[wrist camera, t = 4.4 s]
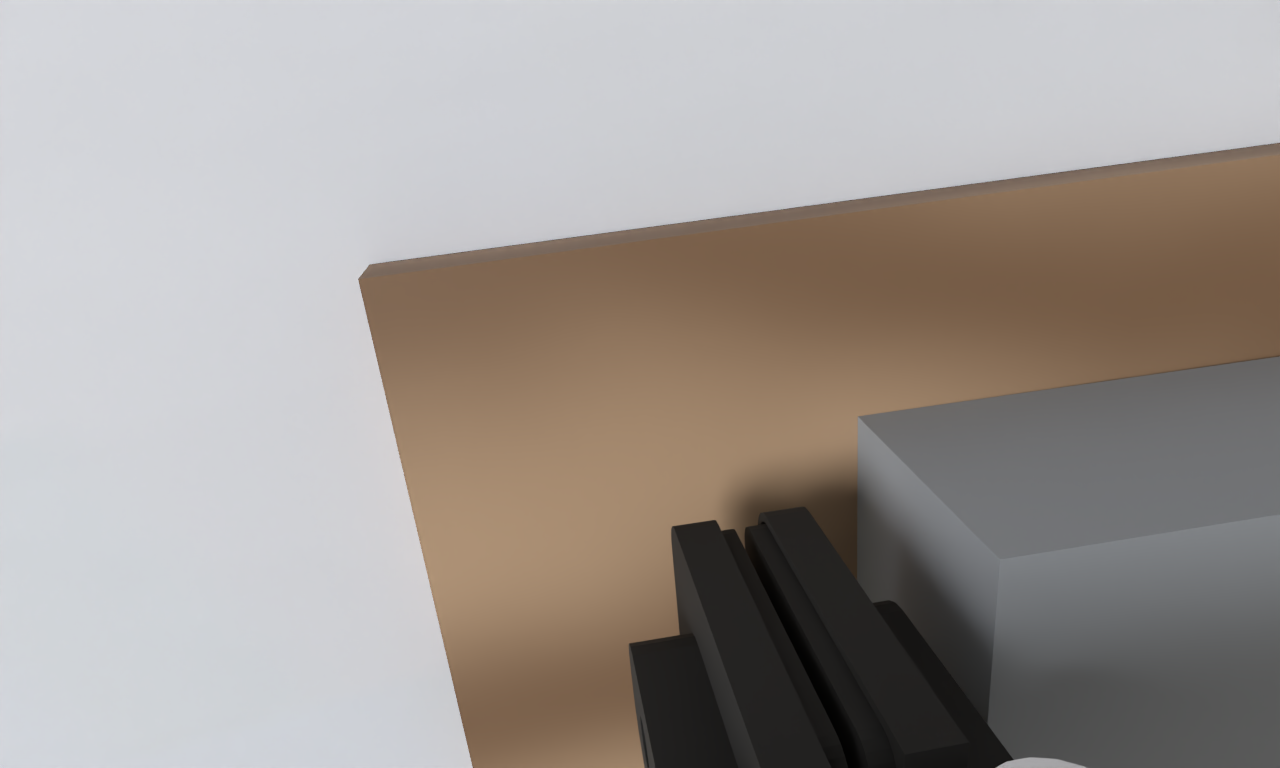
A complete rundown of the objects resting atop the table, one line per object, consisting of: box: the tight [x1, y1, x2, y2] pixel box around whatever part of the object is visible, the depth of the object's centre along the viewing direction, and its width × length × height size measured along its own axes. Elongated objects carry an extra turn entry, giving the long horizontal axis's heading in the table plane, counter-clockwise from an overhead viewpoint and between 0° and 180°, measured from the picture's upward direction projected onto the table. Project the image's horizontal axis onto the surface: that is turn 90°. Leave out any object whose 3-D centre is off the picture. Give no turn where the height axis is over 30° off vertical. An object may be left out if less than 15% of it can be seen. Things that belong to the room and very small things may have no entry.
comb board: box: [358, 143, 1280, 768], centre depth 13 cm, size 15×24×3 cm, turn 96°
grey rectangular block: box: [857, 356, 1280, 768], centre depth 10 cm, size 4×9×4 cm, turn 95°
